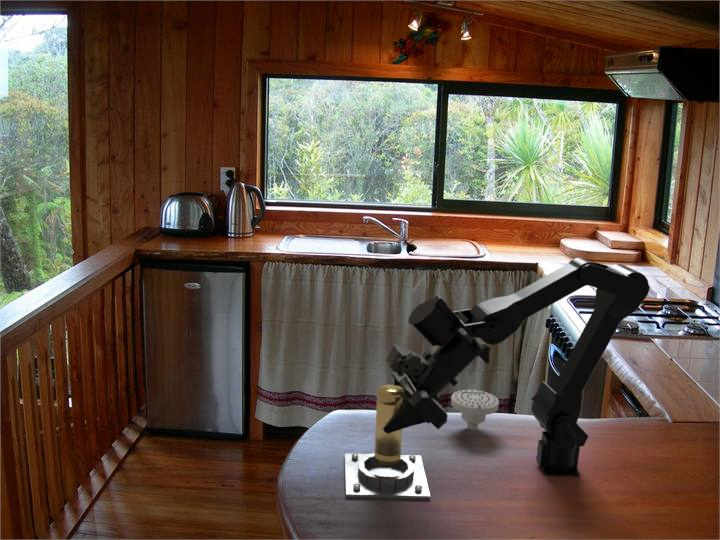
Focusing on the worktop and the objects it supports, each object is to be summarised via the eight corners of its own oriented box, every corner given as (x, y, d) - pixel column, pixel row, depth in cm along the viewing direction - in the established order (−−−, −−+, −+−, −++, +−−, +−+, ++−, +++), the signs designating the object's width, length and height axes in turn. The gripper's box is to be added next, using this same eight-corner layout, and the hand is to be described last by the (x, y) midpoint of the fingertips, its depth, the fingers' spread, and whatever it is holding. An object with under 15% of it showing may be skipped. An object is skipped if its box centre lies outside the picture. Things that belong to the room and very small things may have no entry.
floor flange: (420, 458, 141) (421, 447, 140) (430, 499, 127) (430, 487, 127) (344, 456, 140) (345, 445, 140) (346, 497, 127) (346, 485, 126)
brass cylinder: (394, 451, 136) (397, 383, 133) (404, 463, 132) (408, 393, 129) (370, 455, 134) (373, 386, 131) (380, 467, 130) (383, 396, 127)
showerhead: (456, 404, 147) (448, 384, 157) (453, 439, 149) (446, 416, 159) (504, 406, 148) (494, 385, 157) (501, 440, 149) (491, 418, 159)
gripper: (403, 314, 137) (340, 374, 137) (432, 351, 119) (360, 420, 120) (442, 354, 140) (381, 412, 141) (477, 396, 123) (406, 462, 123)
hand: (381, 424), depth 131 cm, fingers closed on brass cylinder, 5 cm apart
